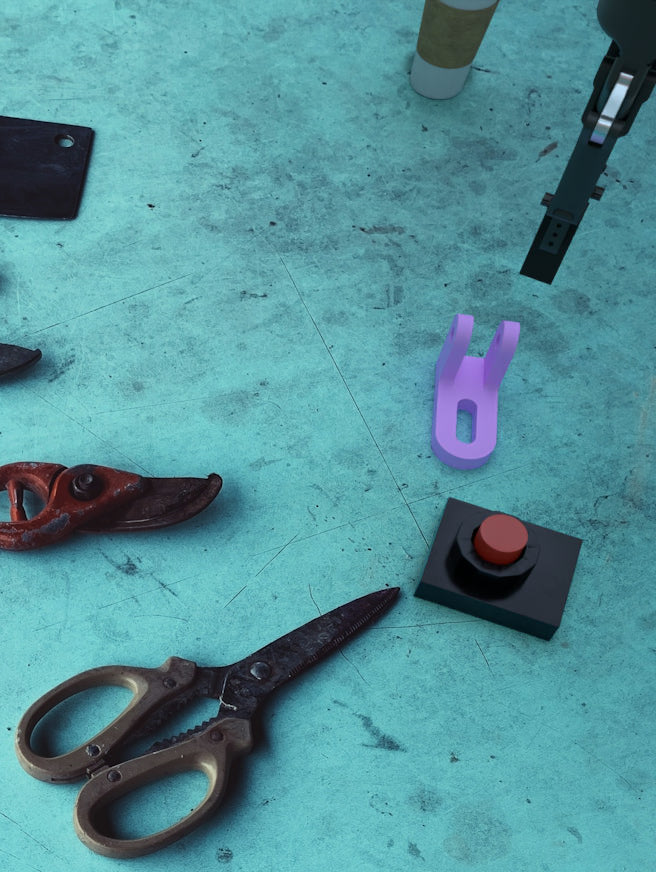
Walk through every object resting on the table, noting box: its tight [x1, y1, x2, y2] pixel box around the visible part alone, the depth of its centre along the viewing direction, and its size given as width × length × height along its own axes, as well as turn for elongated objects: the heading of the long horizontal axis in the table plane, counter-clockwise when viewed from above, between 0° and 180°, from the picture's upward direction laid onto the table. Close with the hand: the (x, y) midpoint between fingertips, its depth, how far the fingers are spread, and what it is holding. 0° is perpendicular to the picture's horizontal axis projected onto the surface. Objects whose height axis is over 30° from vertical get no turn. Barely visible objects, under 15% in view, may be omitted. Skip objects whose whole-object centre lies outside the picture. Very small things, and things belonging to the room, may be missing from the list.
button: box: [474, 514, 528, 565], centre depth 101 cm, size 4×4×2 cm
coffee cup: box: [409, 0, 501, 100], centre depth 128 cm, size 8×8×15 cm
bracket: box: [430, 313, 521, 471], centre depth 110 cm, size 13×6×7 cm, turn 169°
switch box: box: [412, 496, 584, 642], centre depth 103 cm, size 12×10×4 cm
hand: (537, 273), depth 97 cm, fingers closed
